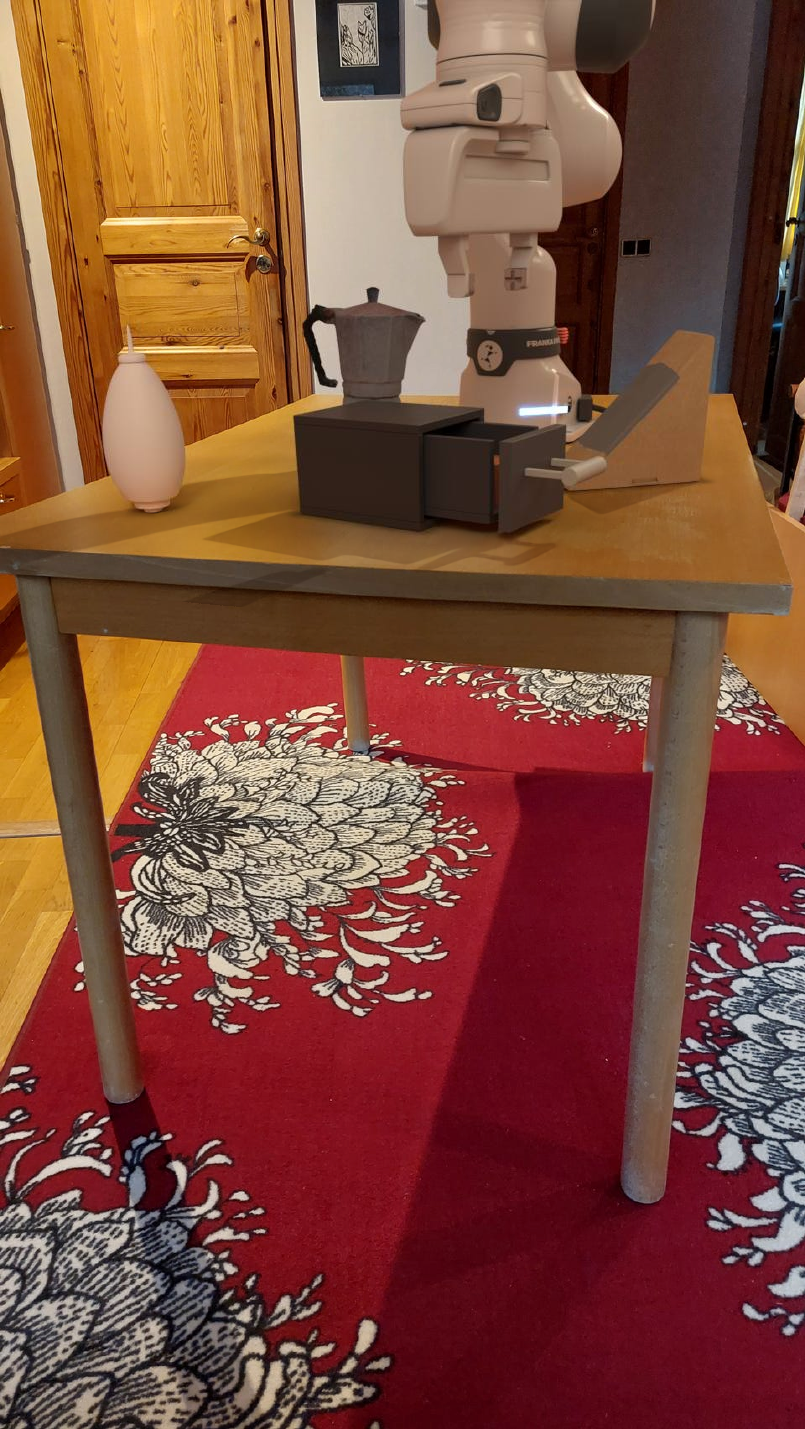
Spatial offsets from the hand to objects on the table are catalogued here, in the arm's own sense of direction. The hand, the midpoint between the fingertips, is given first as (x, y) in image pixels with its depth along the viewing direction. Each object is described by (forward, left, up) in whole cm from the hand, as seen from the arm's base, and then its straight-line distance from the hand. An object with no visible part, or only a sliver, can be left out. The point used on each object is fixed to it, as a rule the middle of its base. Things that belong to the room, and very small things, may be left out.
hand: (489, 293), depth 85 cm
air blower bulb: (+12, -33, -20) cm, 41 cm away
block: (0, 0, -18) cm, 18 cm away
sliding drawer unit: (0, +1, -19) cm, 19 cm away
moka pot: (-20, -29, -20) cm, 41 cm away
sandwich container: (-24, +3, -20) cm, 31 cm away
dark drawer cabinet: (0, -11, -20) cm, 23 cm away
